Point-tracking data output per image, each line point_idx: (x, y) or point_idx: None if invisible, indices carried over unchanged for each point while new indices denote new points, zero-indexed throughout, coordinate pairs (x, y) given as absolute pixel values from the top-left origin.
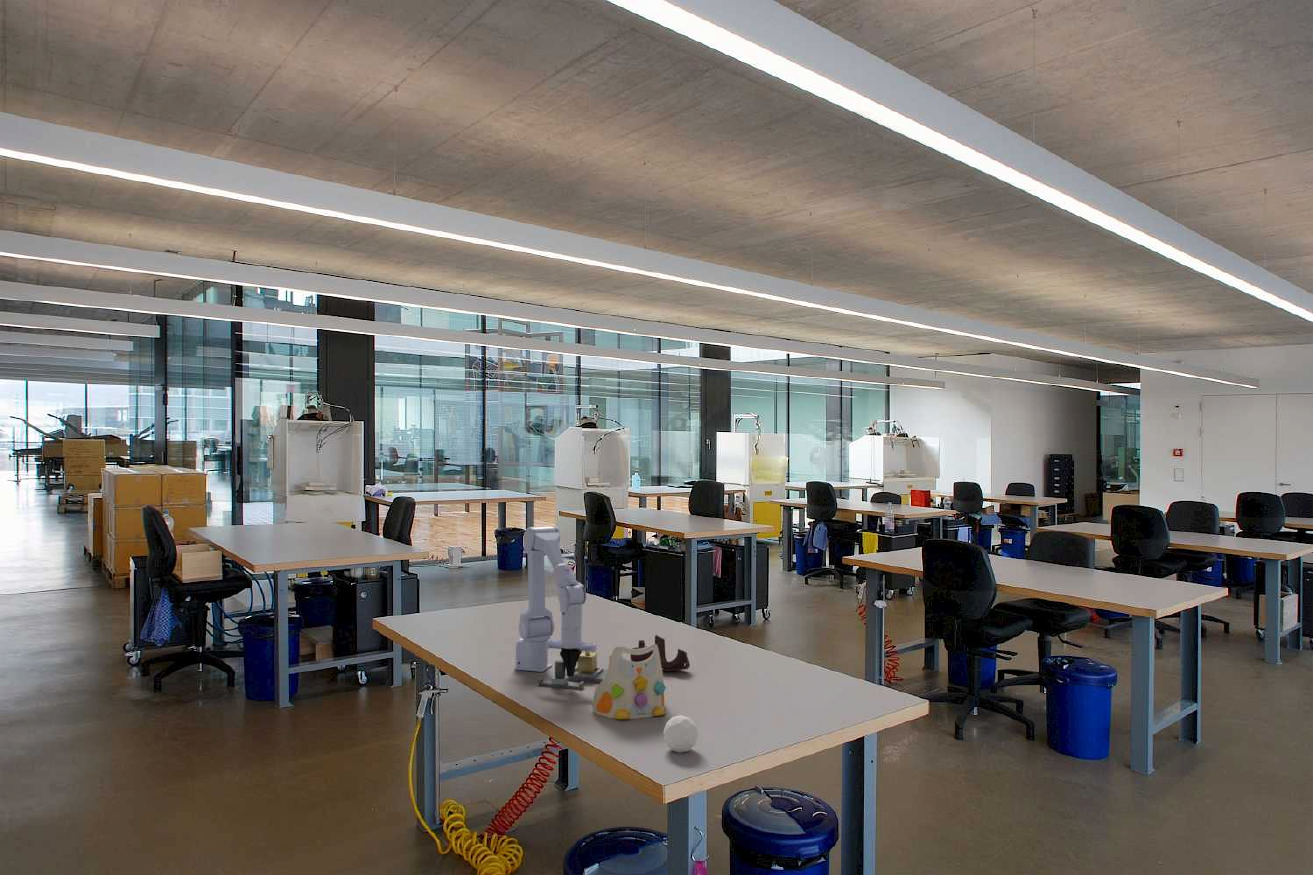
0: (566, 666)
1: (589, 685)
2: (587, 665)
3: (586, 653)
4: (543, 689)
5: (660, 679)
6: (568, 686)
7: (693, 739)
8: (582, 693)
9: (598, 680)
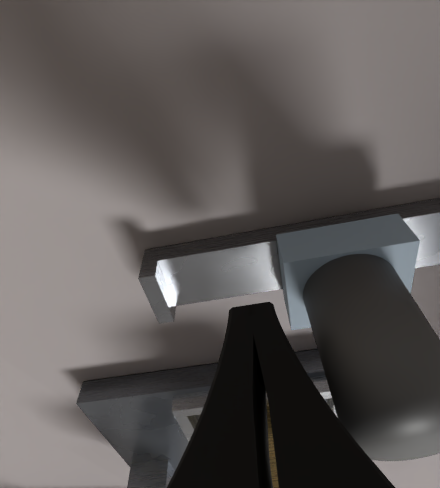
0: (289, 375)
1: (158, 328)
2: None
3: None
4: (435, 115)
5: None
6: (245, 241)
7: None
8: (70, 183)
9: (144, 384)
